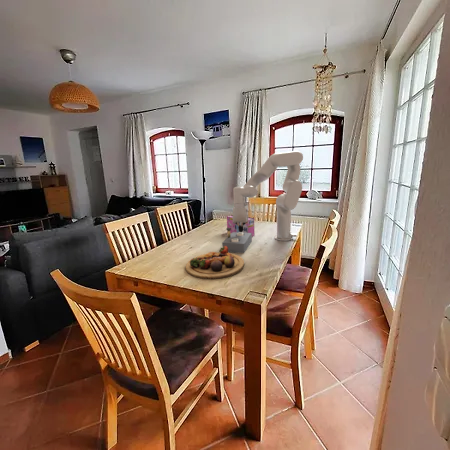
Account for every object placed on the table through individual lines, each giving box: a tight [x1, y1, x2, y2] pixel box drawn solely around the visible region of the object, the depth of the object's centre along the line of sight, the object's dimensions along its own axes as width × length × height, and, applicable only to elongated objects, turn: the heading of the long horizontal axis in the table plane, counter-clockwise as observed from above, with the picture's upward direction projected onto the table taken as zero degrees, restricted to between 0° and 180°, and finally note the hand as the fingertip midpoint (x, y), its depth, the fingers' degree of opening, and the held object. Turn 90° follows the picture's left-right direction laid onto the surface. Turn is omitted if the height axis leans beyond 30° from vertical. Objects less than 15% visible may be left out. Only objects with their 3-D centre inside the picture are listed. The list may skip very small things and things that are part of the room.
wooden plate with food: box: [185, 246, 245, 280], centre depth 134 cm, size 32×32×8 cm
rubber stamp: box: [226, 227, 231, 238], centre depth 165 cm, size 3×3×6 cm
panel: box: [221, 232, 253, 254], centre depth 164 cm, size 14×24×6 cm, turn 163°
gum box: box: [226, 214, 255, 237], centre depth 192 cm, size 24×8×14 cm, turn 44°
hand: (241, 231), depth 170 cm, fingers closed
